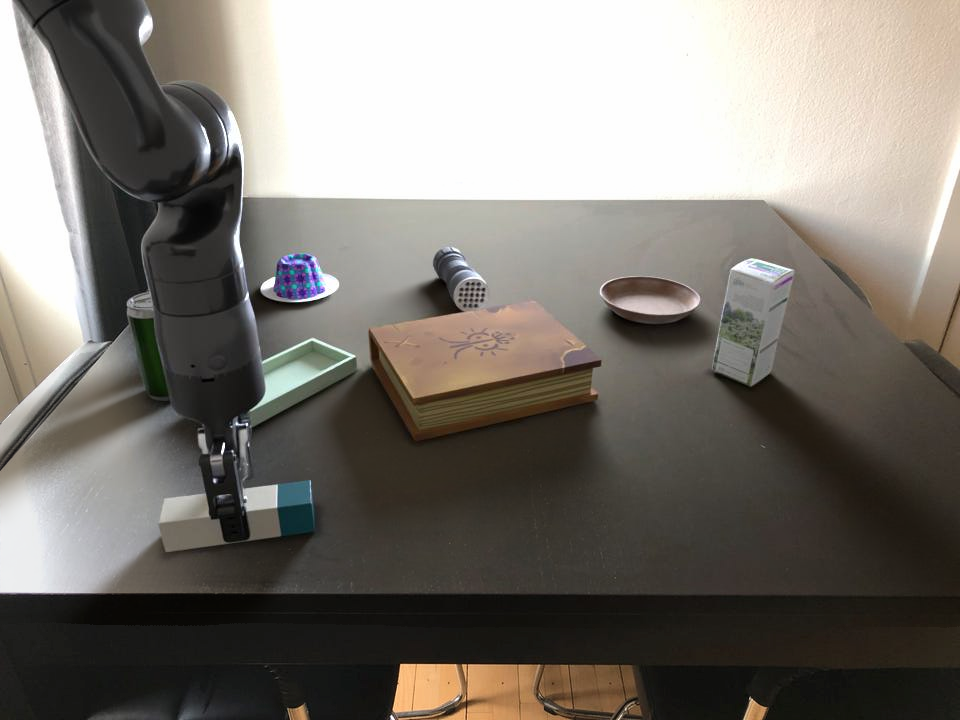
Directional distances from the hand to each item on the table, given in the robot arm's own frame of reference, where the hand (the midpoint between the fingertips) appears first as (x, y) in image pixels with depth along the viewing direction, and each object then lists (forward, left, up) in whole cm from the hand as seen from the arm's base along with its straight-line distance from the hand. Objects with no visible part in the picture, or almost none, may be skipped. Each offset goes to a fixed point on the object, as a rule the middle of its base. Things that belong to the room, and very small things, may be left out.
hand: (240, 507), depth 67 cm
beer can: (+10, +27, -3) cm, 29 cm away
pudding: (+40, +38, -3) cm, 55 cm away
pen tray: (+19, +17, -3) cm, 26 cm away
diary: (+35, -1, -3) cm, 35 cm away
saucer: (+68, -8, -3) cm, 68 cm away
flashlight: (+55, +18, -3) cm, 58 cm away
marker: (0, 0, -3) cm, 3 cm away
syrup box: (+58, -26, -3) cm, 64 cm away
